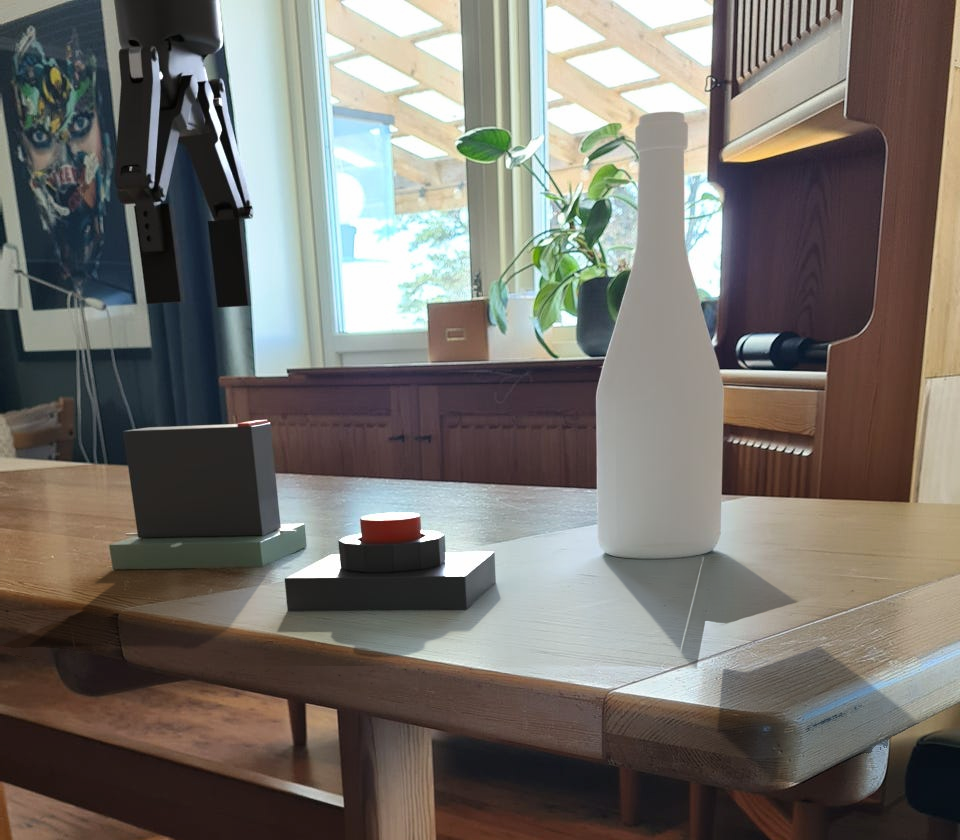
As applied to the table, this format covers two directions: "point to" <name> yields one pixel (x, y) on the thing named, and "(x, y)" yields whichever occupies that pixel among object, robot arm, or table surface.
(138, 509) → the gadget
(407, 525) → the button
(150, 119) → the robot arm
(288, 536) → the platform
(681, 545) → the wine bottle
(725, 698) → the table surface
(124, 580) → the table surface
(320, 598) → the switch box
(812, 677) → the table surface
